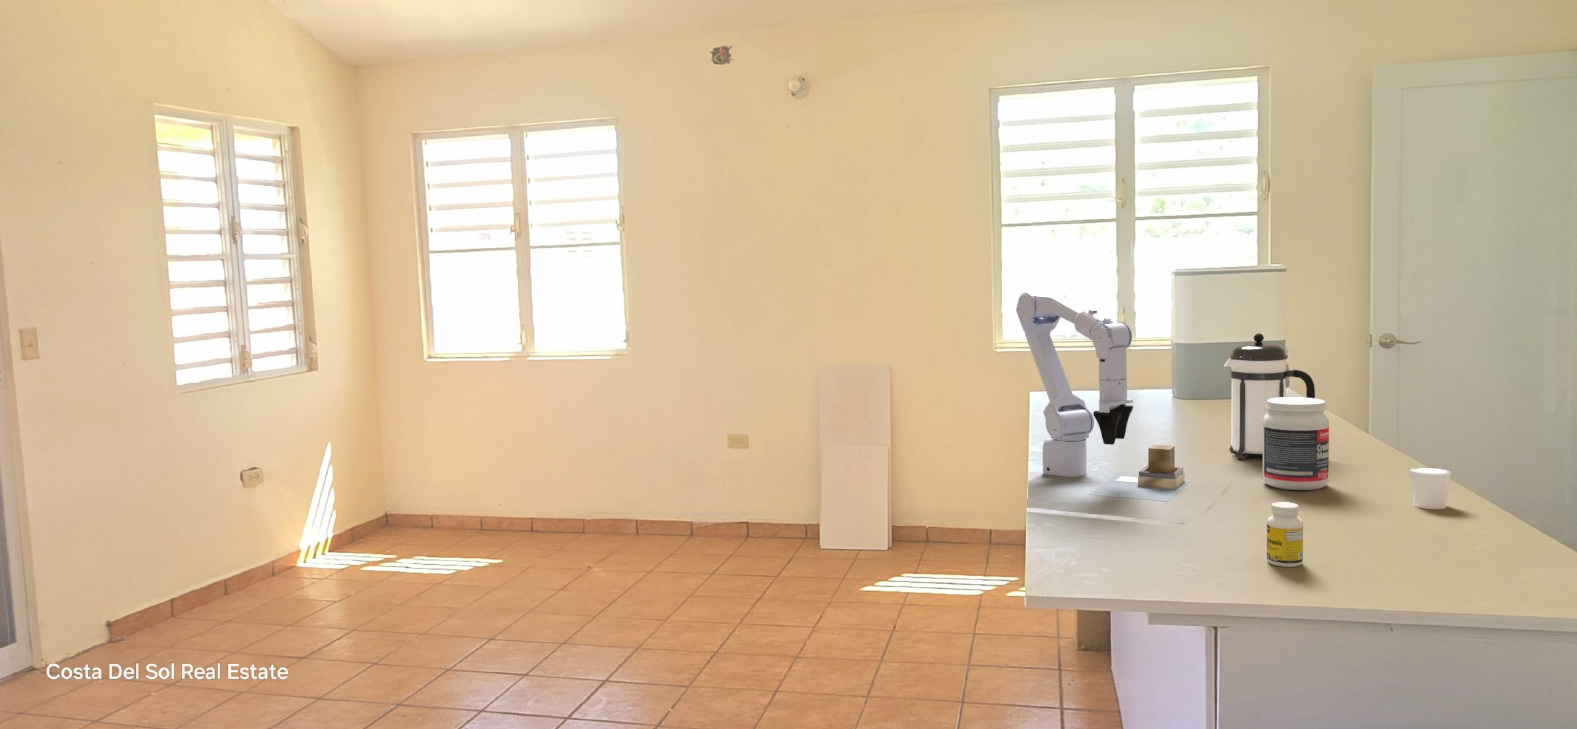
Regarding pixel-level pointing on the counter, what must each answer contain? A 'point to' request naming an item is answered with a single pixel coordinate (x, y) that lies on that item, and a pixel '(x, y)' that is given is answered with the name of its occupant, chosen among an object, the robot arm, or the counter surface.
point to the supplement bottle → (1285, 535)
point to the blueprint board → (1144, 485)
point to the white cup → (1430, 487)
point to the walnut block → (1161, 459)
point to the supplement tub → (1295, 443)
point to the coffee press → (1257, 391)
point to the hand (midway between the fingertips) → (1114, 441)
